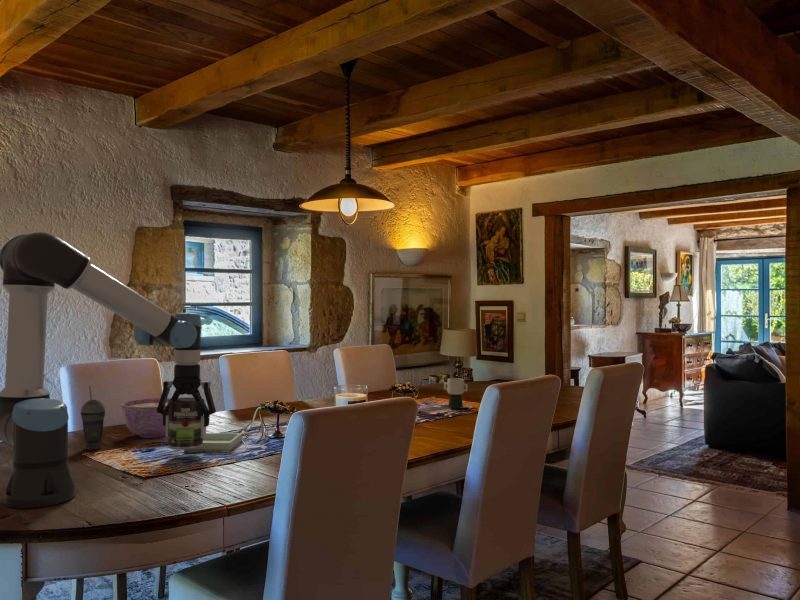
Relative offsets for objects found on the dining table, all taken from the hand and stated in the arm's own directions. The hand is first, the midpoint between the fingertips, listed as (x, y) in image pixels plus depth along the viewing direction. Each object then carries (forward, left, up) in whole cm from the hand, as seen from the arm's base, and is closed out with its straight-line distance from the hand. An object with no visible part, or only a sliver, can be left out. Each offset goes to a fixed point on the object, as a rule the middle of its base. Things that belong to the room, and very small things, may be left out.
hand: (185, 436), depth 199 cm
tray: (+14, -4, -6) cm, 16 cm away
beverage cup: (+10, +34, -6) cm, 36 cm away
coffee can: (0, 0, -3) cm, 3 cm away
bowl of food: (+30, +23, -6) cm, 38 cm away
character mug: (+86, -87, -6) cm, 123 cm away
